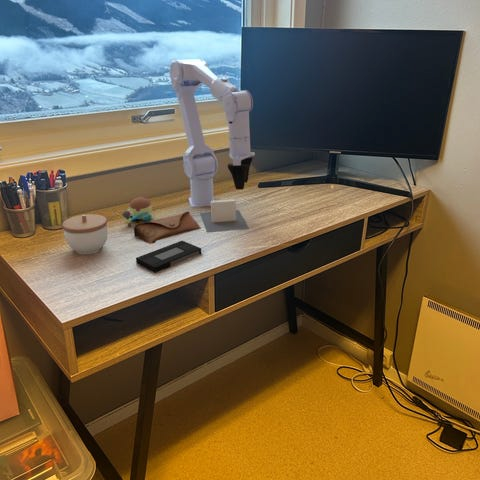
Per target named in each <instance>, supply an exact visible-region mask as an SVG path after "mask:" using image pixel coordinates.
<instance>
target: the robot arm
mask: <svg viewBox="0 0 480 480" xmlns="http://www.w3.org/2000/svg"><path fill="white" fill-rule="evenodd" d="M170 63H171V64H170V66H169V71H168V72H169V78H170V81H171V86H172V90H173V91H174V92H175V93H176V98H177V101H178V106H179V110H180V115H181V120H182V124H183V128H184V132H185V137H186V141H187V145H188V148H187V150H185V152H184V153H183V155H182V159H183V171H184V174H185V175H186V177H188V178H189V183H190V197H188V200H189V204H190V207H191V208H199V207H200V208H201V207H211V201H215V198H214V178H213V177H215V173H217V171H218V168H219V162H218V159H217V157H216V155H215V153H214V149H213V148H211V146H208V145H207V144H206V142H205V137H204V134H203V133H204V132H203V128H202V125H201V124H202V123H201V120H200V116H199V111H198V107H197V103H196V99H195V92H196V91H197V90H198V89H200V88H201V87H200V86H201V85H202V84H203V85H204V86H206V87H208V88H209V89H210V90H209V93H210V95H212V97H213V98H215V99H216V100H217V101H218V102H220V104H221V105H222V108H223V111H224V114H225V119H226V121H227V125H228V141H229V143H228V144H229V153H228V156H229V158H230V159H232V163H228V164H227V169H228V171H229V172H230V175H231V177H232V180H233V184H234V188H235V189H236V190H244V188H245V184H248V182H249V181H248V180H249V173H250V168H251V164H252V161H253V159H254V156H255V155H256V154H255V152H254V151H253V152H251V133H250V131H251V130H250V112H251V111H252V110H253V107H254V100H253V96H252V94H251V93H250V92H249V90H246V89H244V90H242V89H241V90H240V89H239V88H238V87H237V86H236V85H233V83H231V82H230V81H229V79H228V78H227V77H225V76H224V77H217V75H215V73H213V71H211V70H210V68H208V63H207V62H206V61H205V60H204V59H203V58H196V59H194V58H193V59H173V60H172V61H171V62H170Z"/></svg>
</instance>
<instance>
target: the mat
mask: <svg viewBox="0 0 480 480" xmlns="http://www.w3.org/2000/svg"><path fill="white" fill-rule="evenodd" d="M199 215H200V216H201V220H202V222H203V225H204V229H205V231H206V233H216V232H227V231H228V232H229V231H239V230H241V231H242V230H250V227H249V226H248V224H247V222H246V220H245V219H244V217H243V215H242V213H241V212H240V210H239V209H236V221H223V222H212V221H211V211H209V212H199Z"/></svg>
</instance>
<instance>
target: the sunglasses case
mask: <svg viewBox="0 0 480 480" xmlns="http://www.w3.org/2000/svg"><path fill="white" fill-rule="evenodd" d="M200 229H202V227H201V226H200V225H199V223H197V221H196V220H195V219H194V218H193V216H192V215H191V214H190V212H189V211H186V212H183V213H180V214H175V215H171V216H167V217H162V218H159V219H155V220H151V221H143V222H140V223H137V224H136V225H135V226H134V228H133V234H134V237H136V238H137V239H140V240H142V241H143V242H145V243H146V244H149V245H151V244H155V243H156V242H157V241H159V240H162V239H166V238H169V237H173V236H176V235H177V236H178V235H180V234H184V233H187V232H191V231H196V230H200Z"/></svg>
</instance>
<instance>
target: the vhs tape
mask: <svg viewBox="0 0 480 480" xmlns="http://www.w3.org/2000/svg"><path fill="white" fill-rule="evenodd" d="M200 255H202V248H201V247H199V246H196V245H194V244H192V243H190V242H187V241H184V240H179V241H177V242H174V243H171V244H169V245H166V246H164V247H161V248H159V249H156V250H153V251H151V252H148V253H145V254H143V255H140V256H138V257H135V263H136V264H137V265H138V266H140V267H142V268H145V269H147V270H148V271H150V272H153V273H154V274H157V273H160V272H163V271H164V270H167V269H169V268H171V267H173V266H175V265H178V264H180V263H182V262H186V261H187V260H190V259H193V258H195V257H197V256H200Z"/></svg>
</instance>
